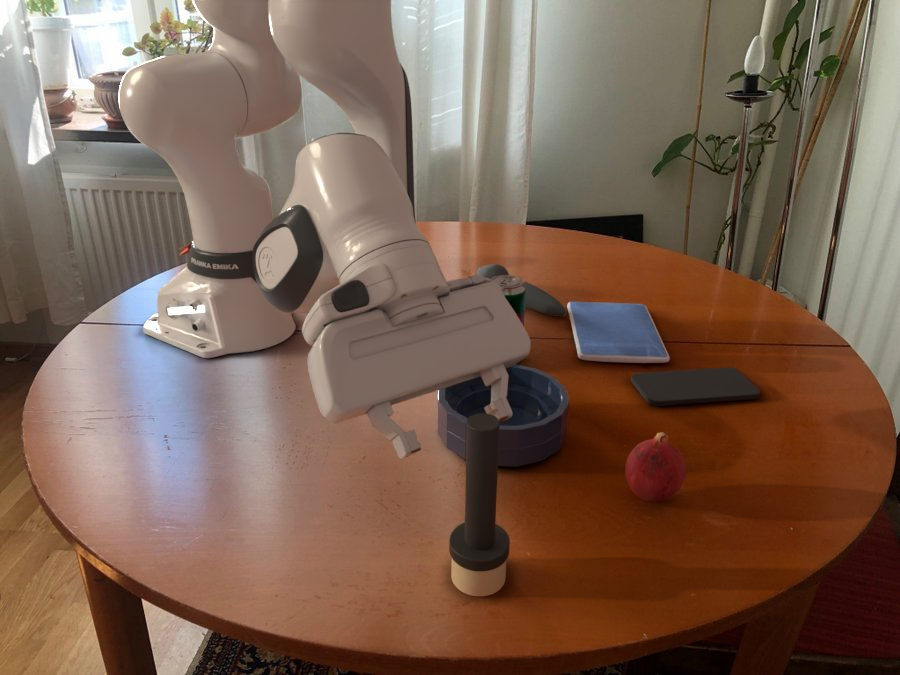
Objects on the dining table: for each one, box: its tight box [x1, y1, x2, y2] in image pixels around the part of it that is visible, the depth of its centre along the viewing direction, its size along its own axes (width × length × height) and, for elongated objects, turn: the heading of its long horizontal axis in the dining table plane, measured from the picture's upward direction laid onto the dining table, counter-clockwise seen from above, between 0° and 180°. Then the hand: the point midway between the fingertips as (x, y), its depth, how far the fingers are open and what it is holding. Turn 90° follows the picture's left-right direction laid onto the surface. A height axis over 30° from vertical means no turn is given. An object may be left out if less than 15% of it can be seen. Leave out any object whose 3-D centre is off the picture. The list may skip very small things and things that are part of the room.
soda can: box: [491, 274, 526, 365], centre depth 99 cm, size 5×5×12 cm
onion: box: [624, 431, 687, 503], centre depth 74 cm, size 6×6×8 cm
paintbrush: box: [476, 263, 567, 317], centre depth 120 cm, size 20×5×5 cm, turn 48°
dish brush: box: [448, 413, 511, 597], centre depth 62 cm, size 5×5×16 cm
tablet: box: [566, 301, 671, 364], centre depth 110 cm, size 19×13×1 cm, turn 177°
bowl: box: [437, 364, 570, 467], centre depth 85 cm, size 15×15×6 cm
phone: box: [630, 366, 761, 407], centre depth 95 cm, size 7×1×15 cm
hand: (458, 437), depth 63 cm, fingers open, 8 cm apart
